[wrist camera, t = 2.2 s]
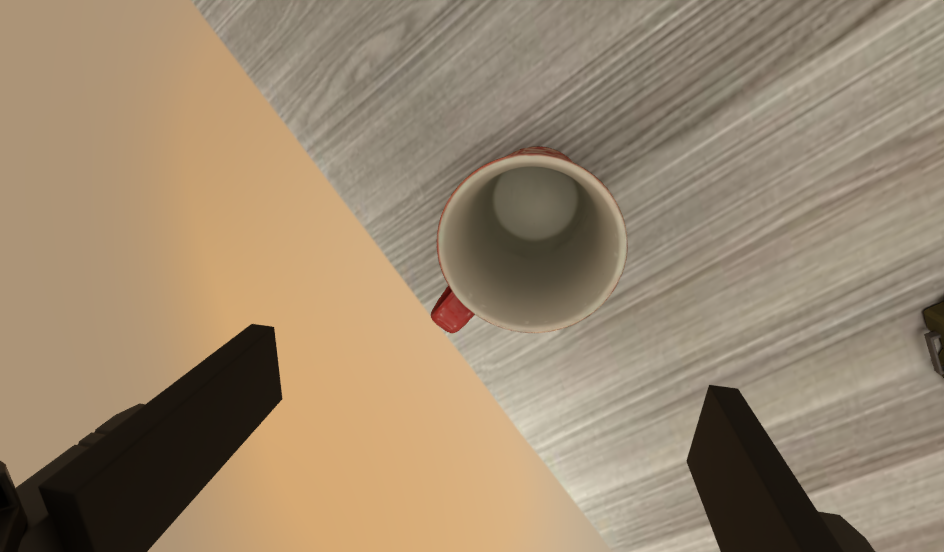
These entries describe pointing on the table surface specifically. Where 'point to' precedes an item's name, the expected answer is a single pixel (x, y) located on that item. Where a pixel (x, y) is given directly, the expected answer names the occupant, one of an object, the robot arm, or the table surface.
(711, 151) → the table surface
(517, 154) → the mug
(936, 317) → the landmine
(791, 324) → the table surface
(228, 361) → the robot arm
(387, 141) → the table surface
